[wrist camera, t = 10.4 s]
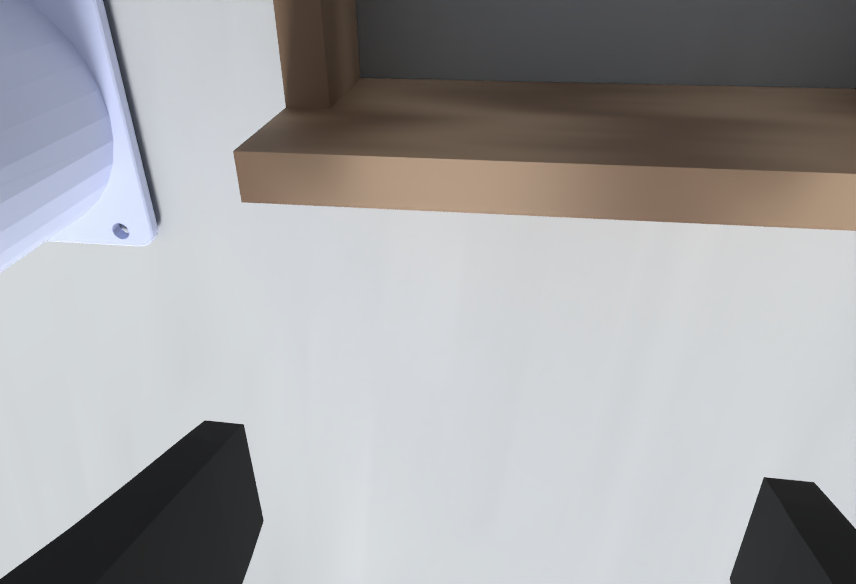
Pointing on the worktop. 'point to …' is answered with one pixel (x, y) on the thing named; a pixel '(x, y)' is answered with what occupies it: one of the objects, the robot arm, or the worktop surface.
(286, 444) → the worktop surface
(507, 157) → the walnut bay
